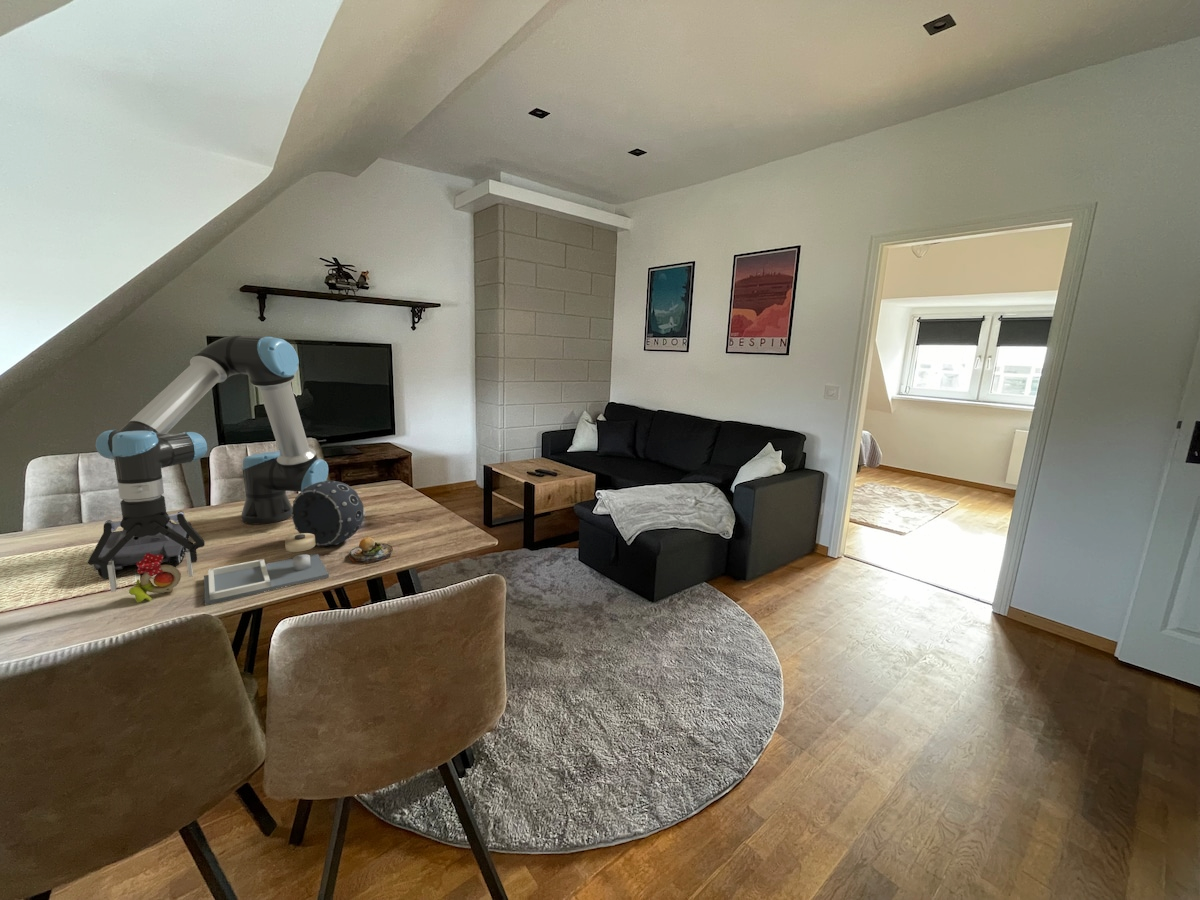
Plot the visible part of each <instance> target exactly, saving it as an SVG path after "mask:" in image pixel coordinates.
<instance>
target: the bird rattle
mask: <svg viewBox="0 0 1200 900" xmlns="http://www.w3.org/2000/svg"><path fill="white" fill-rule="evenodd" d="M163 557H164V556H162V555H152V554H150V553H147V554H146V555H145V556H144V558H143V560H142V561H139V562H137V564H136V567H137V571H136V572H137V573H138V574H142V575H141V578H140V579H137V580H136V581H135V584H136V585H134V586H132V587H131V588H130V589H129V590H128V593H129V595H132V596H135V597H134V598H135V601H136V602H137V603H141V602H143V601H144V600H147V601H149V602H151V601H152V600H153V598H152V597H151V596H150V595H149V594H148V593H147V592H149V593H151V594H152V593H153V594H161V593H172V592H173V589H174V588H176V587H177V586H178V584H179V583H180V581H181V577H182V576H181V571H180V570H179V569H178V568H177V567H175V565H174V566H172V565H169V564H162V563H163V562H162V560H163ZM161 562H162V563H161ZM151 579H153V582H152V581H151Z"/></svg>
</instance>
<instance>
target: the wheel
mask: <svg viewBox="0 0 1200 900" xmlns="http://www.w3.org/2000/svg"><path fill="white" fill-rule="evenodd" d="M284 546H285V549H284V550H285V551H286V552H287V551H288V552H291V553H292V552H293V553H296V552H299V553H300V552H304V551H305V552H306V551H308V550H311V549H314V547H315V546H317V545H316V544H315V535H314V534H310V533H301V534H300V533H297V534H292V535H289V536H287V537H285V539H284Z"/></svg>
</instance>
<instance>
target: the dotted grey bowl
mask: <svg viewBox="0 0 1200 900" xmlns="http://www.w3.org/2000/svg"><path fill="white" fill-rule="evenodd" d="M364 512H365V511H364V503H363V501H362V499H361V497H360V496H359V494H358V492H357V491H356V490H355V489H353V488H352V487H351V486H350V485H348V484H346V483H344V482H342V481H338V480H337V481H336V480H326V481H322V482H318V483H315V484H313V485H310V486H308V487H305V488H304V489H303V491H302V492H300V493H299V494H298V495H297V496H295V499H294V500H293V501H292V514H291V517H292V522H293V525H294V529H295V530H296V531H297V532H298V534H301V533H310V534H314V535H315V544H316V545H315V546H318V547H319V546H321V547H327V546H334V545H339V544H340V543H341V544H342V543H343V542H345V541H347V540H348V539H350V538H351V537H353V536H354V535H355V534H356V533H357V532H358V530H359V529H360V528H361V526H362V524H363V521H364V518H365V513H364Z"/></svg>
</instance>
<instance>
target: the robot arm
mask: <svg viewBox="0 0 1200 900" xmlns="http://www.w3.org/2000/svg"><path fill="white" fill-rule="evenodd" d="M299 365H300V361H299V356H298V353H297V352H296V350H295V348H294V347H293V346H292V344H291V343H289V342H288V341H287V340H285V339H283V338H279V337H272V336H253V335H248V336H247V335H237V334H236V335H229V336H225V337H222V338H219V339H217V340H215V341H213V342H211V343H209V344H208V345H206V346H205V347H203V348H201V349H200V350H199V351H198V352H197V353H196V354H195V355H194V356H193V357H192V358H191V359H190V360H189V366H187V368H185V369H184V371H182V372H181V373H180V374H179V375H178V376H177V377H176V378H174V380H172V381H171V382H170V383H169V384H168V385H167V386H166V387H165V388H164V389H163V390H162V391H160V392H159V393H158V394H157V395H155V397H154V398H152V400H151V401H149V403H148V404H146V405H145V406H144V407H143V408H142V409H141V410H140V411H138V413H137V414H135V415H134V416H133V417H132V418H131V419H130V420H129V421H128V422H126V424H125V425H124V426H122V427H121V428H120V429H109V430H105V431H103V432H101V433H100V434H99V435H98V436H97V438H96V440H95V448H96V452H97V453H98V454H99V455H100V456H102V457H103V458H105V459H108V460H113V462H114V469H115V474H116V480H117V486H118V487H117V488H118V494H119V495H118V497H119V499H121V501H120V508H121V509H120V510H121V516H122V519H121V520H119V521H112V520H110V519H108V520H106V521H105V522H104V523H103V533H102V535H101V536H100V539H99V540H98V542H97V544H96V545H95V548H94V549H93V551H92V553H91V555H90V557H89V558H88V561H87V565H90V566H92V565H93V564H97V565H100V567H101V573H102V577H101V578H102V579H107V578H108V580H109V587H110V592H111V593H113V592H116V591H117V588H118V581H117V577H116V571H115V568H114V561H110V560H111V559H112V558H113V557H114V556H115V555H116V554H117V552H118V551H119V550H120V549H121V548H122V547H123V546H124V545H125V544H126V543H127V542H128V541H129V540H130V539H131V538H132V537H133V536H135V537H138V538H139V537H144V536H153V535H156V534H158V533H161V534H163V535H165V536H167V537H169V538H171V539H172V540H174V541H175V542H177V543H179V544H180V545H182V546H183V547H185V548H187V549H186V553H185V557H186V566H187V575H188V578H192V577H193V564H192V563H197V560H198V555H197V550H198V549H199V548H203V547H204V546H205V545H206V544H205V542H206V541H205V539H203V537H202V536H201V535H200V534H199V533H198V532H197V531H196V529H195V528H194V527H193V526H192V524H191V525H190V524H189V523H190V522H189V521H188V520H187V519H186V516H185V513H184V511H181V510H180V511H178V512H177V513H172V514H168V512H167V505H166V499H165V496H164V495H163V494H165V492H164V491H165V490H164V489H165V488H164V482H163V475H162V474H163V473H162V469H164V468H168V467H173V466H177V465H178V466H179V465H182V464H187V463H192V462H194V461H197V460H200V459H202V458H203V457H205V455H206V454H207V451H208V443H207V441H206V439H205V437H204V436H202V435H201V434H200V433H198V432H195V431H187V432H185V431H181V432H180V433H170V431H171V430H172V429H173V428H174V426H176V425H177V424H178V422H180V421H181V420H182V419H183V418H184V416H186V415H187V413H188V412H190V411H191V410H192V409H193V407H195V405H197V404H198V402H200V401H201V400H202V398H203V397H204V396H205V395H206V394H207V393H209V391H210V390H212V389H213V387H214V386H215V385H216V384H218V383H224V382H225V381H226V380H227V379H228V378H229V377H231V376H235V375H247V376H248V377H249V379H248V380H249V381H250V385H252V386H253V387H256V388H258V390H259V393H260V397H261V398H262V403H263V406H264V408H265V413H266V414H267V417H268V421H269V423H270V426H271V431H272V432H273V437H274V439H275V442H276V444H277V446H276V447H277V449H278V451H268V452H267V451H266V452H261V453H255V454H250V455H247V456H245V457H244V458H243V460H242V469H241V470H242V474H243V483H244V491H245V501H244V503H243V504H244V505H243V507H242V511H241V522H243V523H245V524H249V525H265V524H272V523H279V522H281V521H284V520H288V519H289V518H291V517H292V516H291V514H292V507H293V504H291V501H290V499H289V496H288V495H287V492H288V491H289V492H300V493H301V492H302V491H303V489H304V488H305V487H308V486H310V485H313V484H315V483H318V482H322V481H328V480H327V479H328V476H329V465H328V463H327V461H325V460H324V459H322V458H318V455H317V452H316V450H315V449H314V448H311V447H310V446H309V445H310V444H309V442H308V439H307V435H306V433H305V429H304V428H305V427H304V426H303V422H302V419H301V415H300V412H299V408H298V404H297V401H296V398H295V394H294V391H293V388H292V387H293V386H292V384H291V383H292V382H293V381H294V379H295V374H296V373H297V372H298V369H299ZM170 520H171V521H173V523H175V524H180V526H181V527H182V528H183V529H184V530H185V531H186V533H187V534H188V535H189V538H191V540H193V541H194V542H192V541H191V540H190V539H189V540H188V539H186V538H185V537H183V536H182V535H180V534H179V533H177V532H175V531H174V530H172V529H171V528H170V527H169V526H167V523H168V522H169V521H170ZM188 522H189V523H188ZM119 527H121V528H122V530H123V529H125V530H126V531H127V532H126V533H125V534H124V535H123V536H122V538H121V539H120V540H119V541H118V542H117V543H116V544H115V545H114V546H113V547H112V548H111V549H110V550H109V551H108V552H107V553H106V554H105V555H104V557H99V555H100V553H101V551H102V549H103V547H104V546H105V544H106V542H107V540H108V538H109V536H110V534H111V532H116V530H117V529H118V528H119ZM93 566H94V565H93Z"/></svg>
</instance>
